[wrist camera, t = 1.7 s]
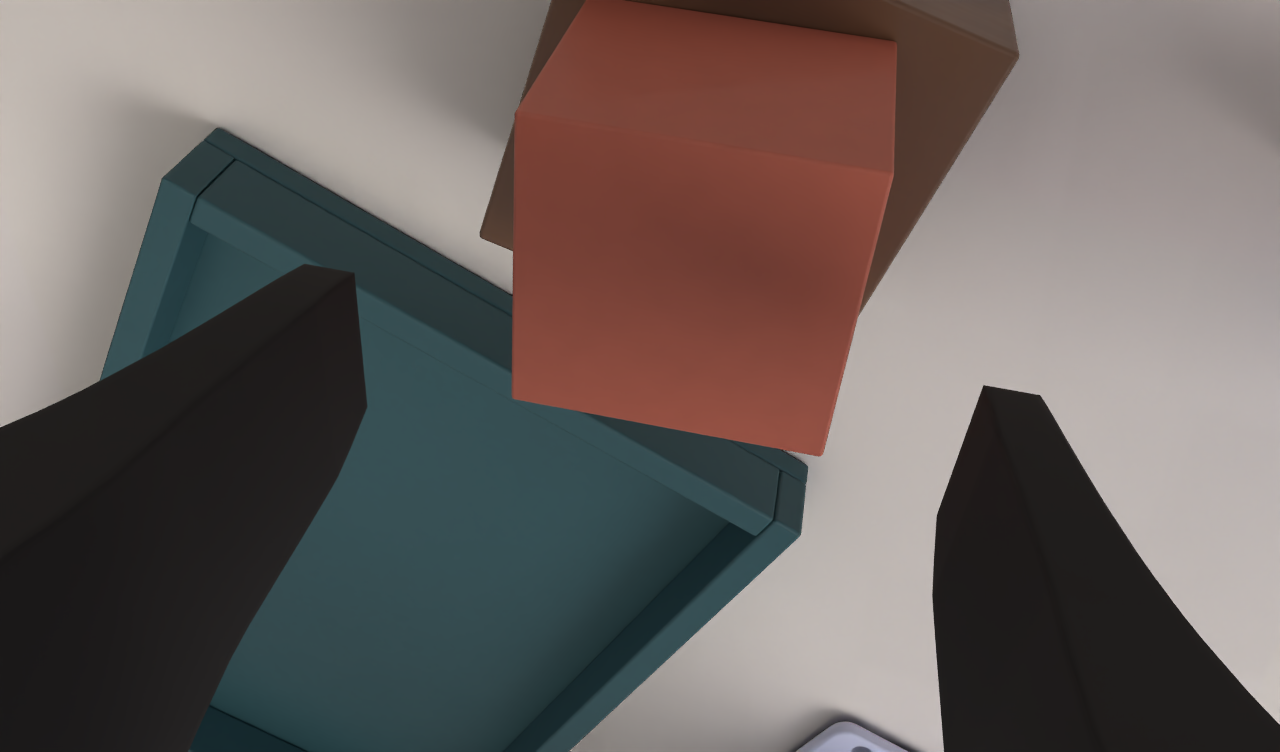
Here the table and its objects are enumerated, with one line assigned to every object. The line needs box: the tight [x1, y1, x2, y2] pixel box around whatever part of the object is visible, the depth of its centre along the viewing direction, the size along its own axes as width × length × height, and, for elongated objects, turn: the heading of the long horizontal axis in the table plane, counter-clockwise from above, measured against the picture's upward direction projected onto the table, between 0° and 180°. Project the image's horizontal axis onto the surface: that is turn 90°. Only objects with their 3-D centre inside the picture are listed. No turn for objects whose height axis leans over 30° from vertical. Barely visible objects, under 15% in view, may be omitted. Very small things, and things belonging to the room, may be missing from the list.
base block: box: [480, 0, 1019, 316], centre depth 19 cm, size 6×6×3 cm
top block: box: [512, 0, 897, 456], centre depth 16 cm, size 4×4×4 cm
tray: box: [100, 128, 808, 752], centre depth 29 cm, size 14×20×2 cm
